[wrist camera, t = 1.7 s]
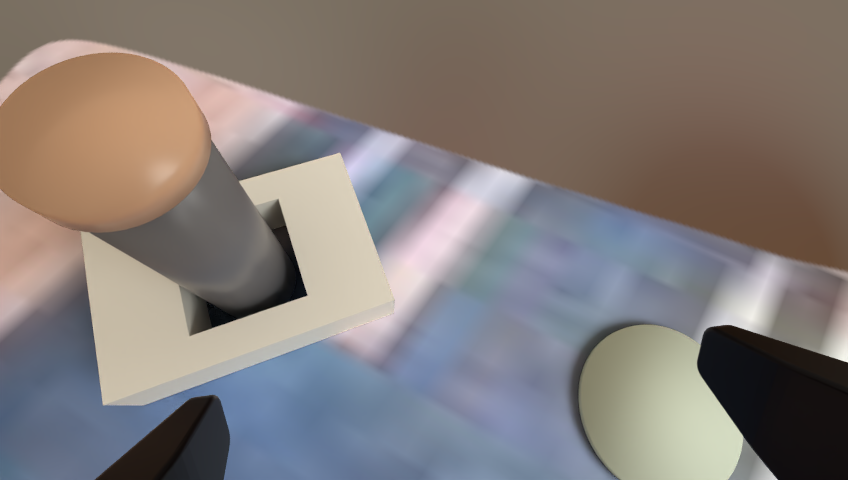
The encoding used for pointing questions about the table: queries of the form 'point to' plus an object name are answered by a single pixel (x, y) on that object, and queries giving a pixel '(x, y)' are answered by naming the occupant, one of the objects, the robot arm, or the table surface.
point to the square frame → (250, 336)
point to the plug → (140, 177)
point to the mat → (655, 409)
